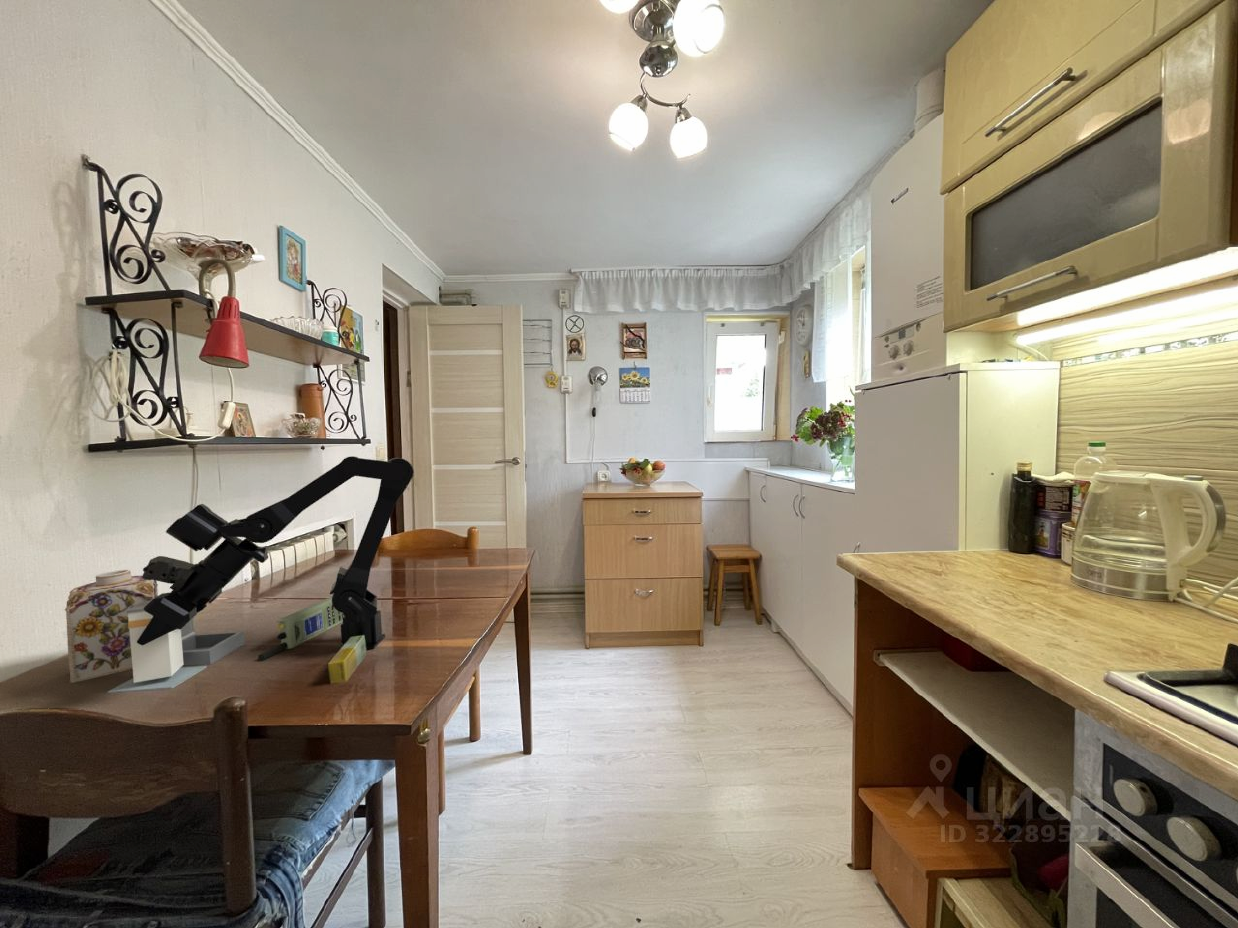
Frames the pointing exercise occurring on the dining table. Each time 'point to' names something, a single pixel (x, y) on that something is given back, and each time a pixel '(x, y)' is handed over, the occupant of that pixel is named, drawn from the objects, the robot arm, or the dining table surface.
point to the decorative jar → (103, 623)
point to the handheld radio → (305, 625)
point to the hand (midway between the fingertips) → (146, 638)
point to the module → (153, 648)
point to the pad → (159, 681)
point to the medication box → (347, 659)
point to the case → (207, 645)
